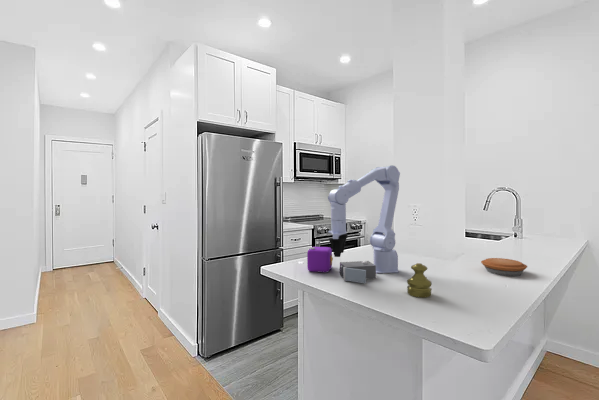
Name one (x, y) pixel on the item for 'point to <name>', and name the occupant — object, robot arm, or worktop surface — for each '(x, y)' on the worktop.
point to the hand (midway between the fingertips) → (339, 254)
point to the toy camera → (319, 259)
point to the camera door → (354, 275)
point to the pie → (504, 266)
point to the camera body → (361, 265)
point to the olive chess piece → (419, 282)
